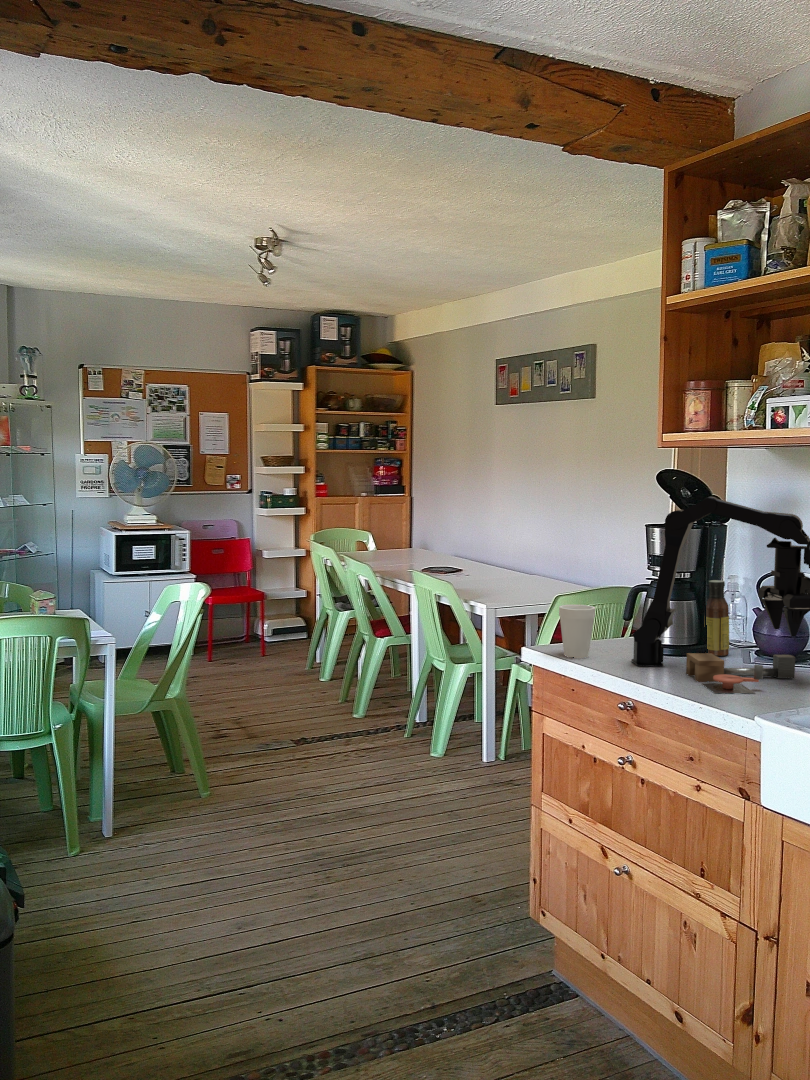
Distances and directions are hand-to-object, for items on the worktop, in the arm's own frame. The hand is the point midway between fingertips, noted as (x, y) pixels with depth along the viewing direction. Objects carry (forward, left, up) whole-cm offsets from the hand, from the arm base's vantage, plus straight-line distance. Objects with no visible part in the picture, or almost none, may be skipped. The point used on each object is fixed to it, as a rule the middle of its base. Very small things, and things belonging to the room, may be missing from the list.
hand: (785, 632), depth 221 cm
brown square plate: (-18, -11, -11) cm, 23 cm away
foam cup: (-44, +25, -11) cm, 52 cm away
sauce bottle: (-6, +27, -11) cm, 30 cm away
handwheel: (-15, -11, -11) cm, 22 cm away
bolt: (-6, 0, -11) cm, 12 cm away
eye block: (-19, 0, -11) cm, 22 cm away
